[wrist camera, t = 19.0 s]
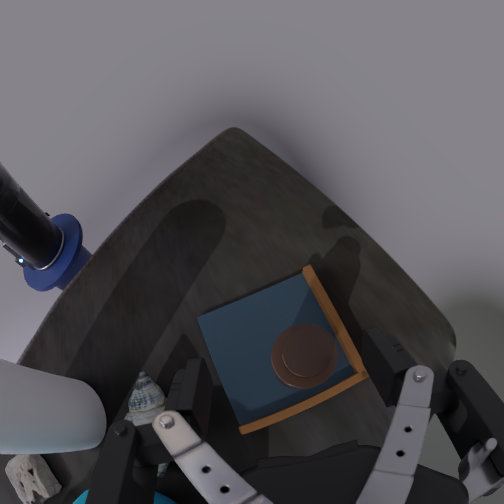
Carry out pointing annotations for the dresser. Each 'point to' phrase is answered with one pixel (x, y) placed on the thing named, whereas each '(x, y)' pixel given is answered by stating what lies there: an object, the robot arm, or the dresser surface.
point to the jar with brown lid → (304, 356)
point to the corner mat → (260, 347)
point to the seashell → (146, 406)
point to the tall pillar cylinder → (47, 412)
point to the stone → (32, 478)
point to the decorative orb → (160, 500)
